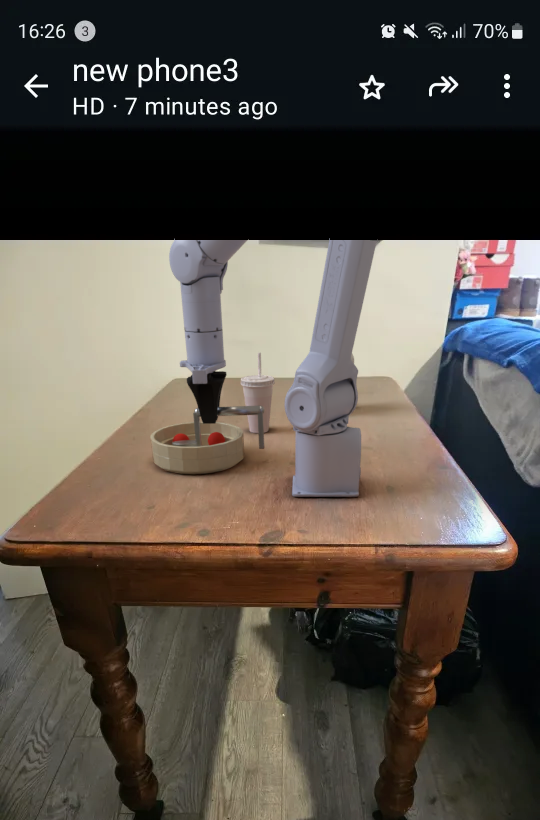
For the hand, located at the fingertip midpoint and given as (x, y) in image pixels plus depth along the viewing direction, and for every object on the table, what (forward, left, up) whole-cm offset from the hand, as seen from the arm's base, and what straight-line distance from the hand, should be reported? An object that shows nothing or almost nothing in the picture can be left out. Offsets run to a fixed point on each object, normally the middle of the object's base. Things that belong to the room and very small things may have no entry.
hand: (210, 421), depth 95 cm
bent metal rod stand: (-1, +1, -4) cm, 5 cm away
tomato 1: (+6, -4, -4) cm, 8 cm away
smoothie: (-7, -18, -7) cm, 21 cm away
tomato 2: (0, -4, -4) cm, 6 cm away
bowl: (+2, 0, -7) cm, 7 cm away
